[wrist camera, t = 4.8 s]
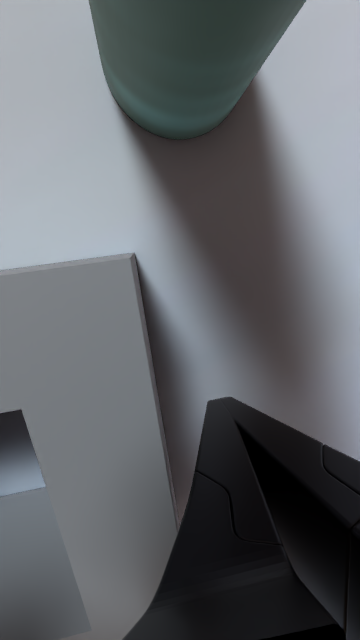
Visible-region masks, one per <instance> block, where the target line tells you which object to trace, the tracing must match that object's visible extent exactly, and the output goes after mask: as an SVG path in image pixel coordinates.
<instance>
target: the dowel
mask: <svg viewBox="0 0 360 640" xmlns="http://www.w3.org/2000/svg"><path fill="white" fill-rule="evenodd" d="M305 2H306V0H89V4H90V9H91V14H92V19H93V24H94V29H95V34H96V39H97V44H98V49H99V54H100V59H101V63H102V68H103V72H104V75H105V78H106V81H107V84H108V86H109V88H110V90H111V92H112V94H113V96H114V98H115V99H116V101H117V103H118V104H119V105H120V107H121V108H122V109H123V111H124V112H125V113H126V114H127V115H128V116H129V117H130V118H131V119H132V120H133V121H134V122H135V123H137V124H138V125H139V126H140V127H142V128H144V129H145V130H147V131H149V132H151V133H153V134H155V135H158V136H161V137H165V138H169V139H189V138H194V137H197V136H200V135H203V134H205V133H207V132H209V131H211V130H212V129H213V128H215V127H216V126H218V125H219V124H220V123H221V122H222V121H223V120H224V119H225V118H226V117H227V116H228V114H229V113H230V112H231V110H232V109H233V107H234V106H235V105H236V103H237V102H238V100H239V99H240V97H241V96H242V94H243V93H244V91H245V90H246V88H247V87H248V85H249V84H250V82H251V81H252V80H253V78H254V77H255V75H256V74H257V72H258V71H259V69H260V68H261V66H262V65H263V63H264V62H265V60H266V59H267V57H268V56H269V55H270V53H271V52H272V50H273V49H274V47H275V46H276V44H277V43H278V41H279V40H280V38H281V37H282V35H283V34H284V32H285V31H286V29H287V28H288V27H289V25H290V24H291V22H292V21H293V19H294V18H295V16H296V15H297V13H298V12H299V10H300V9H301V7H302V6H303V4H304V3H305Z"/></svg>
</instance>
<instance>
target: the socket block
mask: <svg viewBox="0 0 360 640" xmlns="http://www.w3.org/2000/svg"><path fill="white" fill-rule="evenodd" d="M20 409H21V410H22V413H23V416H24V419H25V422H26V425H27V429H28V432H29V435H30V438H31V441H32V444H33V447H34V450H35V454H36V457H37V460H38V463H39V466H40V469H41V472H42V476H43V479H44V482H45V485H46V487H44V488H39V489H34V490H30V491H25V492H20V493H16V494H11V495H6V496H2V497H0V640H122V639H123V638H124V637H125V636H126V635H127V633H128V632H129V631H130V630H131V629H132V627H133V626H134V625H135V624H136V623H137V622H138V620H139V619H140V618H141V617H142V616H143V614H144V613H145V611H146V610H147V608H148V607H149V605H150V603H151V601H152V599H153V597H154V595H155V593H156V591H157V588H158V586H159V583H160V581H161V578H162V575H163V573H164V570H165V567H166V564H167V561H168V559H169V556H170V553H171V550H172V547H173V545H174V542H175V539H176V536H177V533H178V531H179V528H180V526H179V519H178V512H177V505H176V499H175V493H174V487H173V481H172V475H171V469H170V463H169V457H168V451H167V445H166V439H165V433H164V427H163V421H162V415H161V409H160V404H159V398H158V392H157V386H156V380H155V374H154V368H153V362H152V356H151V350H150V344H149V338H148V332H147V326H146V320H145V314H144V308H143V302H142V296H141V290H140V284H139V278H138V272H137V266H136V260H135V254H134V253H127V254H120V255H113V256H105V257H98V258H90V259H83V260H75V261H68V262H61V263H53V264H46V265H38V266H31V267H24V268H16V269H9V270H1V271H0V413H4V412H9V411H15V410H20Z"/></svg>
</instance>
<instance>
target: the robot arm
mask: <svg viewBox="0 0 360 640" xmlns="http://www.w3.org/2000/svg"><path fill="white" fill-rule="evenodd" d="M122 640H360V461H358V460H356V459H354V458H351V457H349V456H347V455H345V454H343V453H341V452H339V451H337V450H335V449H333V448H331V447H329V446H327V445H323V444H322V443H321V442H319V441H317V440H315V439H313V438H311V437H309V436H307V435H305V434H303V433H301V432H299V431H297V430H295V429H293V428H291V427H290V426H288V425H286V424H284V423H282V422H280V421H278V420H276V419H274V418H272V417H270V416H268V415H266V414H264V413H262V412H260V411H258V410H256V409H254V408H252V407H250V406H248V405H246V404H244V403H242V402H240V401H238V400H236V399H234V398H232V397H225V398H220V399H215V400H209V401H208V402H207V407H206V413H205V418H204V424H203V429H202V434H201V440H200V445H199V451H198V456H197V461H196V467H195V473H194V477H193V482H192V487H191V491H190V495H189V500H188V503H187V506H186V510H185V513H184V516H183V519H182V522H181V525H180V528H179V531H178V533H177V536H176V539H175V542H174V545H173V547H172V550H171V553H170V556H169V559H168V561H167V564H166V567H165V570H164V573H163V575H162V578H161V581H160V583H159V586H158V588H157V591H156V593H155V595H154V597H153V599H152V601H151V603H150V605H149V607H148V608H147V610H146V611H145V613H144V614H143V616H142V617H141V618H140V619H139V620H138V622H137V623H136V624H135V625H134V626H133V627H132V629H131V630H130V631H129V632H128V633H127V635H126V636H125V637H124V638H123V639H122Z"/></svg>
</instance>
